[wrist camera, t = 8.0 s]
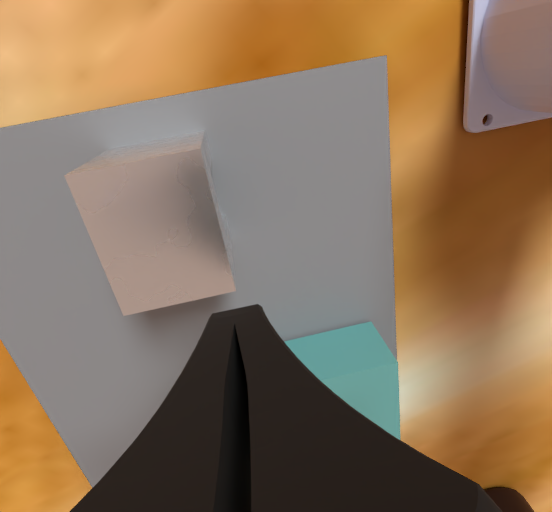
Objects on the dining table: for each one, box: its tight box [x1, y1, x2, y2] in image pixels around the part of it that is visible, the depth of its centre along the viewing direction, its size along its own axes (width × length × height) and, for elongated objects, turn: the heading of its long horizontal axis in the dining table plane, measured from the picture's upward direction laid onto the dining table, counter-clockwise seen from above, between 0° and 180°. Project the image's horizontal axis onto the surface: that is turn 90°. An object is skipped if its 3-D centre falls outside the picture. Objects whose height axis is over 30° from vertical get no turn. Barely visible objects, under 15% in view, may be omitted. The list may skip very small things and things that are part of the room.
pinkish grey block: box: [64, 130, 236, 316], centre depth 14 cm, size 4×5×5 cm
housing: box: [284, 321, 400, 440], centre depth 21 cm, size 7×10×3 cm
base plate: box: [0, 55, 397, 488], centre depth 19 cm, size 20×24×4 cm
